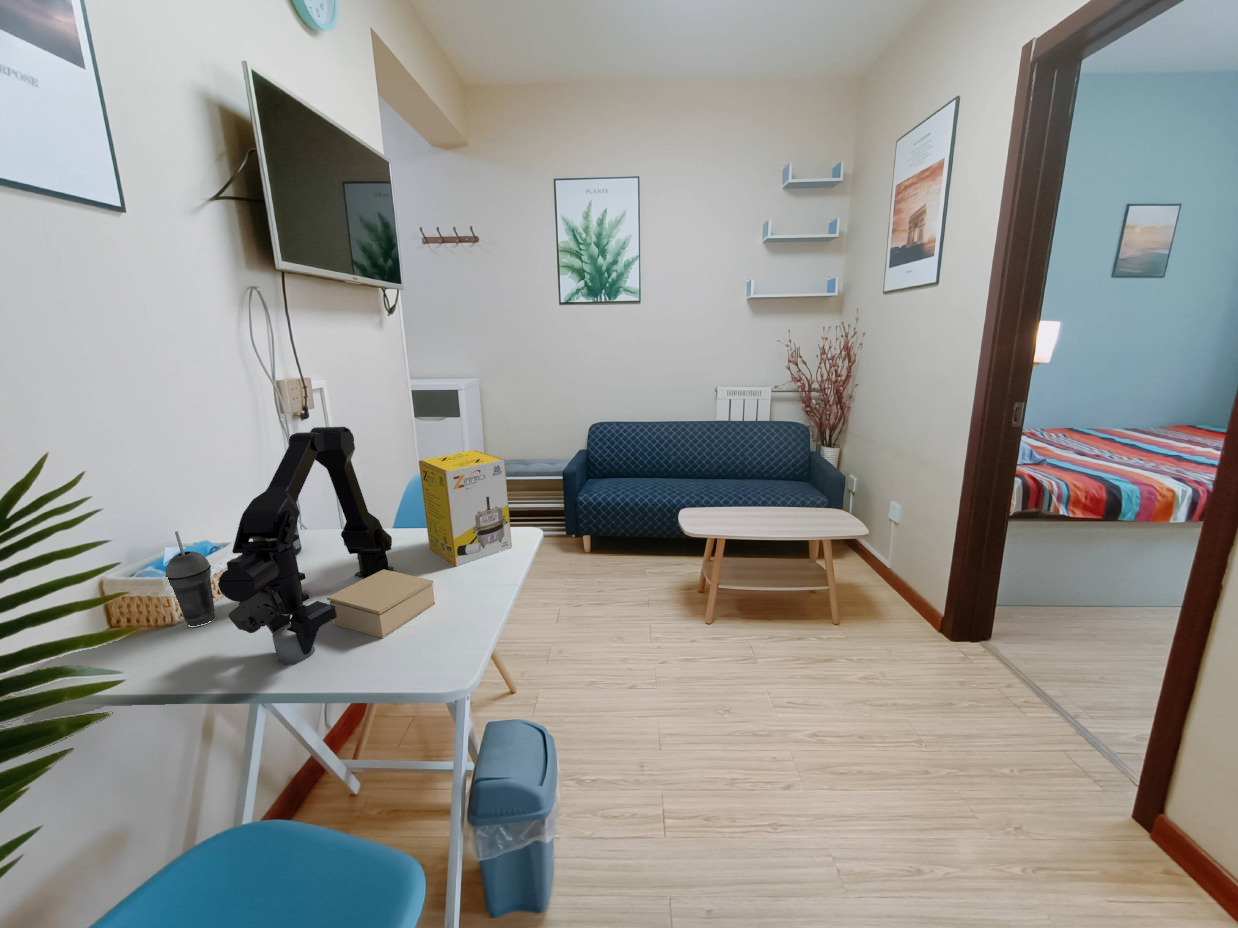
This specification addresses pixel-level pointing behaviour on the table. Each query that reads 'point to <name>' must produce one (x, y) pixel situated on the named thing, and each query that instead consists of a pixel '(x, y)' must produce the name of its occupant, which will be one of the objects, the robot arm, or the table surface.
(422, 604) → the carton
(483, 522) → the packaging box
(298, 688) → the table surface
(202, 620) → the beverage cup
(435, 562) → the table surface
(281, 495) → the robot arm
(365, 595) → the lid
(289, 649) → the grey short round piece
